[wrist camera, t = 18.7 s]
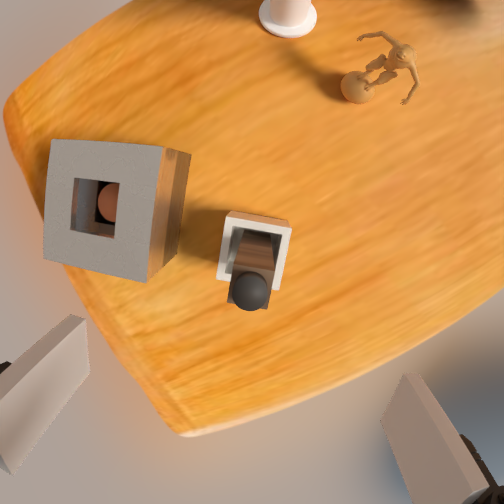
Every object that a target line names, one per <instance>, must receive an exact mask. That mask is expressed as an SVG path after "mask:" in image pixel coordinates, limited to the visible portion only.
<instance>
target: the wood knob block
mask: <svg viewBox="0 0 504 504" xmlns="http://www.w3.org/2000/svg"><path fill="white" fill-rule="evenodd" d="M274 275H275V266H274V259H273V251H272V244H271V236H270V234H267V233H261V232H256V231H250V230H245V229H244V232H243V235H242V238H241V242H240V245H239V248H238V251H237V254H236V257H235V260H234V263H233V269H232V275H231V281H230V287H229V293H228V299H227V303H233V304H236V305H237V306H238V307H239V308H241V309H243V310H246V311H254V310H257V309H259V308H261V309H267V308H268V303H269V298H270V294H271V289H272V284H273V279H274Z"/></svg>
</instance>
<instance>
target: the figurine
mask: <svg viewBox="0 0 504 504" xmlns="http://www.w3.org/2000/svg"><path fill="white" fill-rule="evenodd" d="M379 36H383V37H384V38H385V39H386V40H387V41H388V42H389V43H391V44H392V45H393V48H392V49H391V51H390V52H389V56H388V58H387V59H386V56H385V55H383V54H381V55H380V56H379V57H378V58H377V59H375V60H373V61H371V62H370V63H369V64H368V65H366V70H367V71H366V72H364V73H363V72H360V71H352V72H349V73H348V74H346V75H345V76H344V77H343V79H342V81H341V92H342V94H343V96H344V97H345V98H346V99H347V100H348V101H350V102H352V103H355V104H364V103H366V102H368V101H370V100H371V99H372V97H373V96H374V93H375V86H376V85H381V84H384V83H386V82H388V81H389V80H391V79H392V78H395V77H397V76H398V74H397V72H396V71H395V69H404V68H409V70H410V71H411V74H412V77H413V79H414V81H415V84H414V85H413V87H412V89H411V91H410V92H409V94H408V97H407V99H402V100H404V101H403V102H401V103H403V104H407V103H408V102H409V101H410V99H411V98H412V96H413V95H414V93H415V91H416V90H417V89H418V87H419V86H420V80H419V76H418V73H417V67H416V63H415V61H416V58H417V53H416V50H415V49H414V48H413V47H412V46H410V45H407V44H402V43H401V42H399V41H398V40H396V39H394V38H392V37H391V36H390V35H388V34H387V33H385V32H383V31H380V32H376V33H368V34H363V35H361V36H359V37H358V38H357V41H358V40H360V39H361V40H362V39H363V38H364V37H368V38H371V37H379ZM361 40H360V41H361ZM382 66H384V69H386V70H387V71H384V72H382V73H381V74H380V75H379V78H378V79H377V80H376V81H374V82H373V80H372V79H371V78H370V77H369V76H368V75H369V74H370V73H372V72H373V71H374V70H377V69H380V68H381V67H382ZM401 103H400V104H401ZM403 104H402V105H403Z"/></svg>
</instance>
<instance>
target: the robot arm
mask: <svg viewBox="0 0 504 504" xmlns="http://www.w3.org/2000/svg"><path fill="white" fill-rule="evenodd" d="M89 373H90V367H89V357H88V345H87V331H86V319H85V318H81V317H78V316H75V315H72V314H70V315H69V316H68V317H67V318H65V319H64V320H63V321H62V322H61V323H59V324H58V325H57V326H56V327H55V328H53V329H52V330H51V331H50V332H49V333H47V334H46V335H45V336H44V337H43V338H41V339H40V340H39V341H38V342H36V343H35V344H34V345H33V346H32V347H31V348H30V349H28V350H27V351H26V352H25V353H24V354H23V355H21V356H20V357H19V358H18V359H17V360H16V361H15V362H14V363H9V362H5V363H2V364H0V468H1V469H3V470H4V471H6V472H7V473H9V474H11V475H12V476H13V475H14V474H15V472H16V471H17V469H18V468H19V467H20V465H21V464H22V462H23V461H24V459H25V458H26V457H27V455H28V454H29V453H30V451H31V450H32V448H33V447H34V445H35V444H36V443H37V441H38V440H39V439H40V437H41V436H42V435H43V433H44V432H45V430H46V429H47V428H48V427H49V425H50V424H51V423H52V421H53V420H54V419H55V417H56V416H57V415H58V413H59V412H60V411H61V409H62V408H63V407H64V405H65V404H66V403H67V401H68V400H69V399H70V397H71V396H72V395H73V394H74V392H75V391H76V390H77V389H78V387H79V386H80V385H81V383H82V382H83V381H84V380H85V378H86V377H87V376H88V374H89ZM380 421H381V424H382V426H383V429H384V431H385V434H386V436H387V438H388V441H389V443H390V445H391V448H392V451H393V453H394V456H395V458H396V461H397V463H398V466H399V469H400V471H401V474H402V476H403V479H404V481H405V484H406V487H407V489H408V492H409V495H410V497H411V500H412V503H413V504H504V486H498V485H497V483H496V482H495V480H494V478H493V477H492V475H491V473H490V472H489V470H488V468H487V467H486V465H485V463H484V462H483V460H481V457H480V455H479V454H478V453H477V450H476V449H475V447H474V446H473V444H472V443H471V441H469V440H468V439H467V438H466V437H465V436H464V435H462V434H461V435H459V434H458V432H457V431H456V429H455V428H454V426H453V425H452V423H451V422H450V420H449V419H448V417H447V415H446V414H445V412H444V411H443V409H442V408H441V406H440V405H439V403H438V402H437V400H436V399H435V397H434V396H433V394H432V393H431V391H430V390H429V388H428V387H427V385H426V384H425V382H424V381H423V380H422V378H421V377H420V375H419V374H418V373H404V374H403V376H402V378H401V380H400V382H399V384H398V386H397V388H396V390H395V393H394V394H393V396H392V398H391V400H390V402H389V404H388V406H387V408H386V410H385V412H384V414H383V416H382V418H381V420H380Z"/></svg>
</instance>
